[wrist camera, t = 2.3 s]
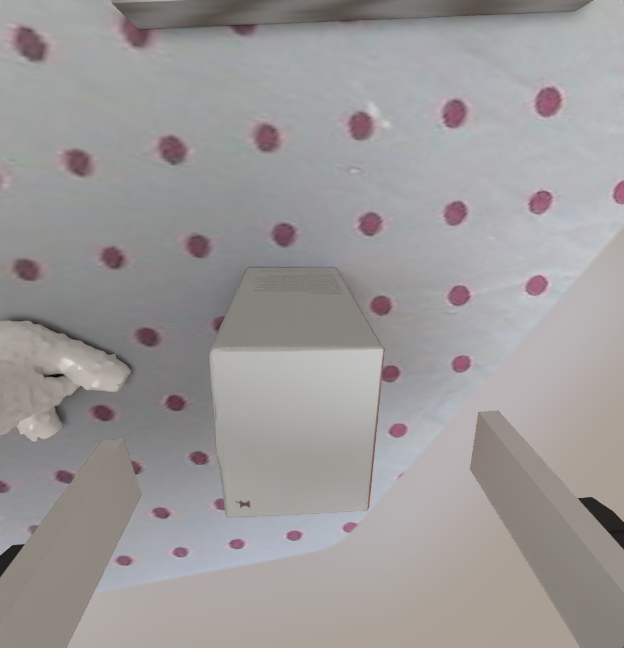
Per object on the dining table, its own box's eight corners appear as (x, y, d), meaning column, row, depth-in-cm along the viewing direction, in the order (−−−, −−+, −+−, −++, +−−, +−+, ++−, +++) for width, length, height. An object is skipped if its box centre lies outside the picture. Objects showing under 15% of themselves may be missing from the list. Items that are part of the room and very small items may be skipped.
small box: (334, 368, 27) (370, 516, 15) (251, 369, 27) (221, 522, 15) (339, 264, 24) (388, 347, 12) (245, 264, 24) (202, 349, 12)
